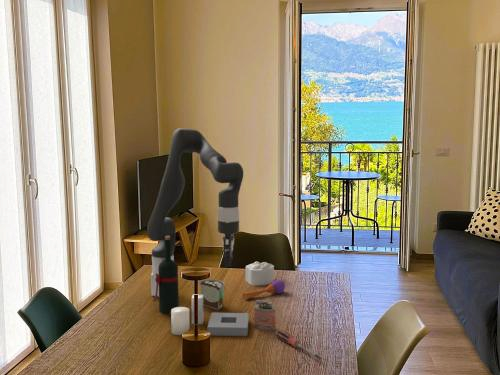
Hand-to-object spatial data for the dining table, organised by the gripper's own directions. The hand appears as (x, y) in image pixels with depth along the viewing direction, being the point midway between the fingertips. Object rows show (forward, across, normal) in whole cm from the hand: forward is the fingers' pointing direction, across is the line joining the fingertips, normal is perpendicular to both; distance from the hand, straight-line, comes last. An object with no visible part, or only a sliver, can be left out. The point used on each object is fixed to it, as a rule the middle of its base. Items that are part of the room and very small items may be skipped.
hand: (228, 263), depth 192 cm
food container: (+24, -23, -7) cm, 34 cm away
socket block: (+24, 0, 0) cm, 24 cm away
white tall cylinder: (+24, -5, -12) cm, 27 cm away
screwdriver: (+24, +17, +24) cm, 38 cm away
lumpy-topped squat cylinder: (+24, -56, +11) cm, 62 cm away
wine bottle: (+24, -16, -26) cm, 39 cm away
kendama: (+24, -36, +13) cm, 45 cm away
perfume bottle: (+24, -1, +13) cm, 28 cm away
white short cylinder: (+24, +4, -17) cm, 30 cm away
